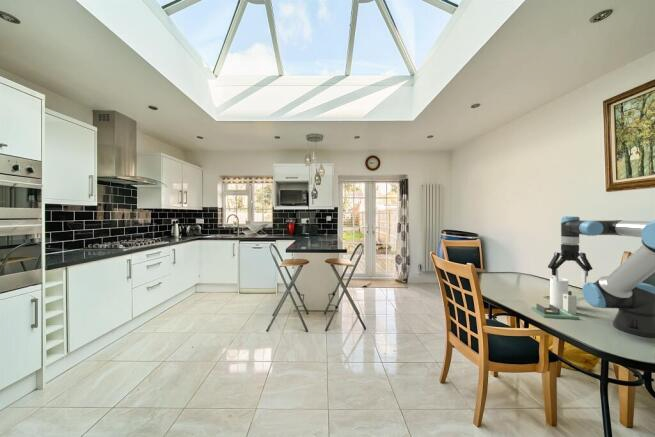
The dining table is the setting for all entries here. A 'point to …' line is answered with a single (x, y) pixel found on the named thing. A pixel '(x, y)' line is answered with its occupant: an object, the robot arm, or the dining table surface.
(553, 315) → the header board
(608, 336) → the dining table surface
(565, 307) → the plug
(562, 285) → the cup
